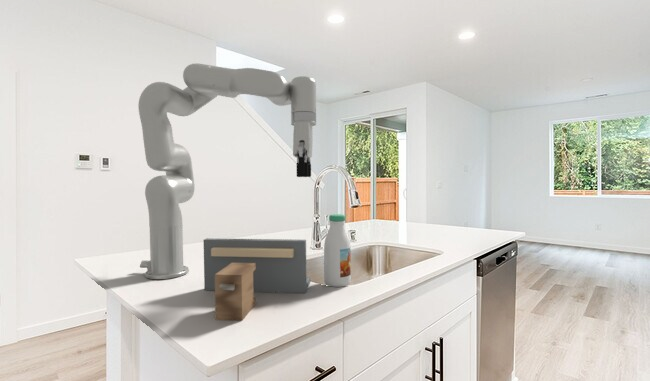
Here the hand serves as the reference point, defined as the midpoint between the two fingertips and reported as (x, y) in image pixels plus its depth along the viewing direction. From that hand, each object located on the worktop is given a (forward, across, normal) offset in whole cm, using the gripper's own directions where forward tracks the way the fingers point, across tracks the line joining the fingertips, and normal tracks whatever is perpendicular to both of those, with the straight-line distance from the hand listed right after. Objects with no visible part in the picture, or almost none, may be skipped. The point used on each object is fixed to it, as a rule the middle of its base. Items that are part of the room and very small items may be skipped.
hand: (304, 176), depth 102 cm
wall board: (+31, +9, -12) cm, 35 cm away
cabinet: (+31, +27, -13) cm, 43 cm away
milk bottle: (+31, +5, +10) cm, 33 cm away
